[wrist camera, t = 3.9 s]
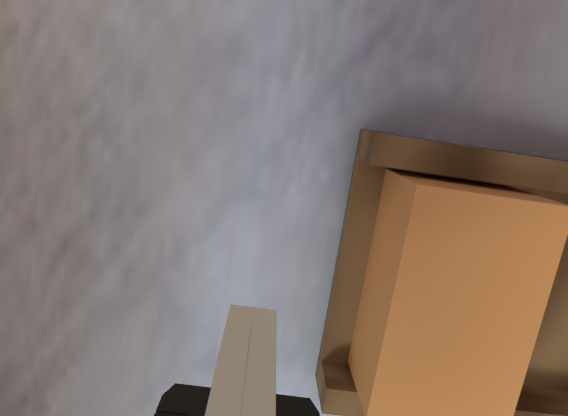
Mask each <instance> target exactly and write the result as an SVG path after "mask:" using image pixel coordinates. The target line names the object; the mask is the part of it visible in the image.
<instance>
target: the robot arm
mask: <svg viewBox="0 0 568 416" xmlns="http://www.w3.org/2000/svg"><path fill="white" fill-rule="evenodd" d="M154 416H320V414H319V411H318V410H317V408H316V407H315V405H314V404H313V402H312V401H311V399H310V398H303V397H295V396H287V395H278V394H276V310H268V309H261V308H253V307H246V306H238V305H230V309H229V313H228V318H227V322H226V326H225V330H224V335H223V339H222V343H221V348H220V352H219V356H218V360H217V365H216V369H215V373H214V378H213V382H212V386H211V388H209V387H201V386H192V385H184V384H176V383H175V384H174V385H173V386H172V387H171V388H170V389H169V390H167V391H166V392H165V393H164V394H163V395H162V397H161V400H160V402H159V405H158V407H157V410H156V413H155V415H154Z"/></svg>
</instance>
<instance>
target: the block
mask: <svg viewBox="0 0 568 416" xmlns="http://www.w3.org/2000/svg"><path fill="white" fill-rule="evenodd" d="M567 235H568V205H566V204H563V203H560V202H557V201H554V200H551V199H548V198H544V197H541V196H538V195H535V194H532V193H529V192H526V191H522V190H519V189H516V188H513V187H507V186H500V185H493V184H486V183H480V182H473V181H466V180H459V179H452V178H446V177H439V176H432V175H425V174H419V173H412V172H405V171H398V170H391V169H386V172H385V177H384V182H383V187H382V192H381V197H380V202H379V207H378V212H377V217H376V222H375V227H374V232H373V237H372V242H371V247H370V252H369V257H368V262H367V267H366V272H365V277H364V282H363V287H362V292H361V297H360V302H359V307H358V311H357V316H356V321H355V326H354V331H353V336H352V341H351V346H350V351H349V356H348V364H349V367H350V371H351V374H352V377H353V380H354V383H355V387H356V390H357V393H358V396H359V400H360V403H361V406H362V409H363V413H364V416H514V412H515V409H516V406H517V402H518V399H519V396H520V392H521V389H522V386H523V382H524V379H525V376H526V372H527V369H528V366H529V362H530V359H531V356H532V352H533V349H534V346H535V342H536V339H537V336H538V332H539V329H540V326H541V322H542V319H543V316H544V312H545V309H546V305H547V302H548V299H549V295H550V292H551V289H552V285H553V282H554V279H555V275H556V272H557V269H558V265H559V262H560V259H561V255H562V252H563V249H564V245H565V242H566V239H567Z"/></svg>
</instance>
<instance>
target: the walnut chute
mask: <svg viewBox="0 0 568 416" xmlns="http://www.w3.org/2000/svg"><path fill="white" fill-rule="evenodd" d="M386 169H391V170H398V171H405V172H412V173H419V174H425V175H432V176H439V177H446V178H452V179H459V180H466V181H473V182H480V183H486V184H493V185H500V186H507V187H513V188H516V189H519V190H522V191H526V192H529V193H532V194H535V195H538V196H541V197H544V198H548V199H551V200H554V201H557V202H560V203H563V204H566V205H568V161H564V160H558V159H551V158H545V157H538V156H531V155H525V154H518V153H512V152H505V151H499V150H492V149H486V148H479V147H472V146H466V145H459V144H453V143H446V142H440V141H433V140H426V139H420V138H413V137H407V136H400V135H394V134H387V133H381V132H374V131H367V130H360V136H359V141H358V147H357V152H356V158H355V163H354V168H353V174H352V179H351V185H350V190H349V196H348V201H347V206H346V212H345V217H344V223H343V228H342V234H341V239H340V244H339V250H338V255H337V261H336V266H335V271H334V277H333V282H332V288H331V293H330V299H329V304H328V309H327V315H326V320H325V326H324V331H323V337H322V342H321V347H320V353H319V358H318V364H317V369H316V374H315V375H316V381H317V387H318V393H319V398H320V404H321V410H322V413H324V414H333V415H342V416H364V413H363V409H362V406H361V403H360V400H359V396H358V393H357V390H356V387H355V383H354V380H353V377H352V374H351V371H350V367H349V364H348V356H349V351H350V346H351V341H352V336H353V331H354V326H355V321H356V316H357V311H358V307H359V302H360V297H361V292H362V287H363V282H364V277H365V272H366V267H367V262H368V257H369V252H370V247H371V242H372V237H373V232H374V227H375V222H376V217H377V212H378V207H379V202H380V197H381V192H382V187H383V182H384V177H385V172H386ZM514 416H568V235H567V239H566V242H565V245H564V249H563V252H562V255H561V259H560V262H559V265H558V269H557V272H556V275H555V279H554V282H553V285H552V289H551V292H550V295H549V299H548V302H547V305H546V309H545V312H544V316H543V319H542V322H541V326H540V329H539V332H538V336H537V339H536V342H535V346H534V349H533V352H532V356H531V359H530V362H529V366H528V369H527V372H526V376H525V379H524V382H523V386H522V389H521V392H520V396H519V399H518V402H517V406H516V409H515V412H514Z"/></svg>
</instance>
